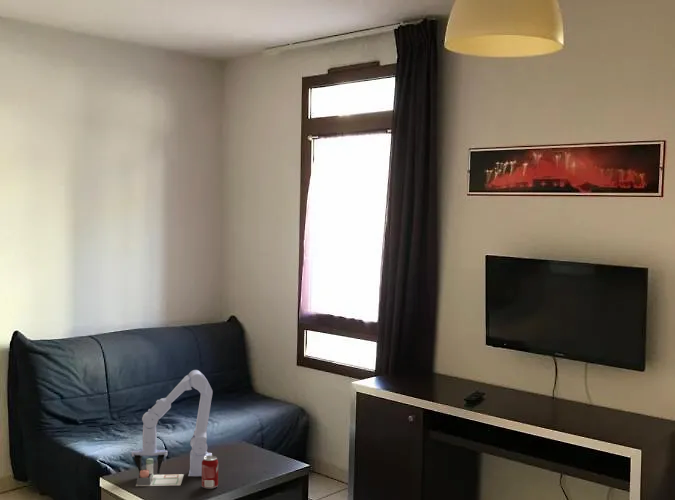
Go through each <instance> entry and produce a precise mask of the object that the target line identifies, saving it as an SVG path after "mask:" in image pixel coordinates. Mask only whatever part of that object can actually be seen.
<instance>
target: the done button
mask: <svg viewBox="0 0 675 500" xmlns="http://www.w3.org/2000/svg"><path fill="white" fill-rule="evenodd" d="M140 478H149V470H146V468H145V469H142V470H141V471H140Z"/></svg>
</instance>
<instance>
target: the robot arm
mask: <svg viewBox="0 0 675 500" xmlns="http://www.w3.org/2000/svg"><path fill="white" fill-rule="evenodd" d="M193 389H195V390H197V391H198V392H199V394H200V398H199V405H198V410H197V416H196V421H195V423H196V424H195V428H194V431H193V434H192V437H191V438H190V440H189V441H190V442H189V445H190V447H191V450H190V451H189V472H188V474H187V477H202V461H203V458H204V457H206V456H213V453H212V452H208V444H207V441H208V440H207V436H208V435H207V432H208V424H209V419H210V418H209V417H210V412H211V406H212V405H211V403H212V400H213V399H212V398H213V392H214V391H213V389H212V387H211V385H210V383H209V381H208V379H207V378H206V376H205V374H203V373H202V372H201V371H200V370H198V369H193V370H191V371H190V372H189V373H188V374H187V375H185V376H184V377H183V378H182V379H181V380H180V382H178V384H177V385H176V386H175V387H174V388H173V389H172V391H170V393H168V394H167V396H166V397H163V398H160V399H157V400H156V401H155V404H154V405H153V406H152V407H151V408H148V410H147V411H146V412H145V413H144V414H142V418H141V421H142V423H143V425H142V449H139V450H131V457H132V458H133V460H134V462H135V464H136V466H137V469H138V475H139V474H140V471H141V470H143V468H142V467H143V466H142V465H143V464H142V462H143V461H142V459H143V457H156V456H157V458H156V459H157V469H156V470H157V471H156V473H157V474H160V472H161V467H162V463H163V460H164V459H165V457H168V450H167V449H166V450H165V449H158V448H157V440H158V439H157V434H158V433H157V425H158V422H159V420H160V419H161V418H163V416H164V415H165V414H166V413H168V411H169V410H170V409H171V408H172V403H173V402H175V401H176V399H178V398H179V396H181V395H182V394H183V393H184V392H185V391H191V390H193Z"/></svg>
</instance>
